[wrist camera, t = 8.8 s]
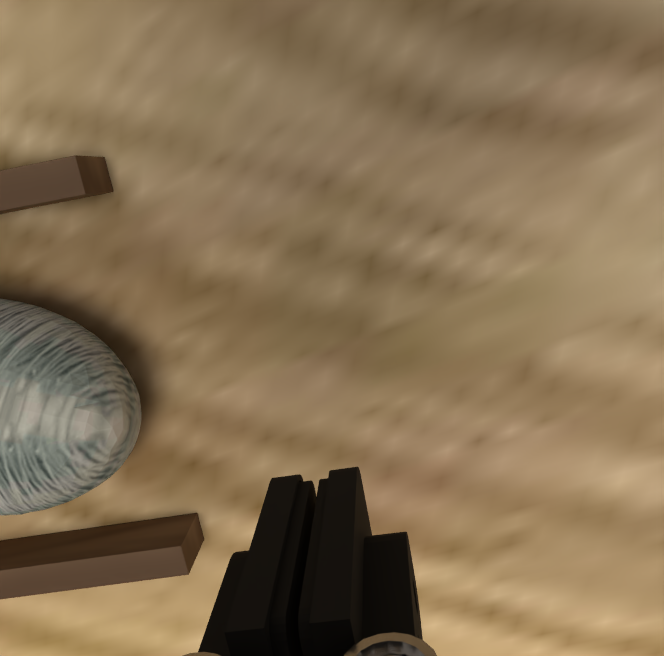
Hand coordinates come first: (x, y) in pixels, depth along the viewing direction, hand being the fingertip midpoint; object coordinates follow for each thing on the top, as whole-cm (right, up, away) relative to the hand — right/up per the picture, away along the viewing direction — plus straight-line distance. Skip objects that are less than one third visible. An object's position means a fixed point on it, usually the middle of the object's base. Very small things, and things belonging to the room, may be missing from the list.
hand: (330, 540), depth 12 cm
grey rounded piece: (-15, +2, +20) cm, 25 cm away
